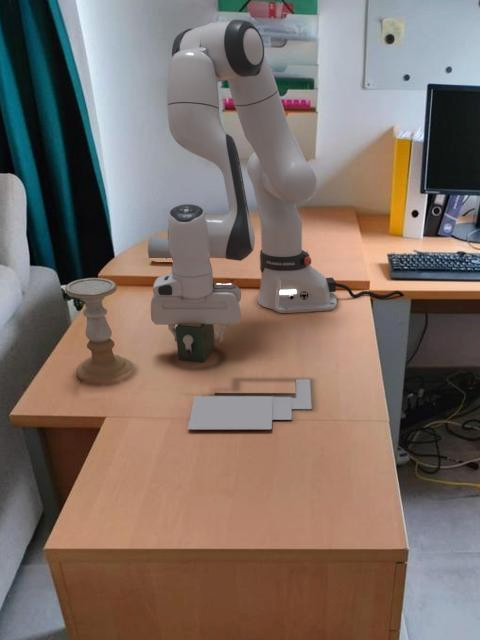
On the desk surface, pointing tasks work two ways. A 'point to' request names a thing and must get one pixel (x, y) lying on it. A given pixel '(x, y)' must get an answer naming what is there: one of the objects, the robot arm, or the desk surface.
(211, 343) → the sharpener
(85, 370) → the candle holder
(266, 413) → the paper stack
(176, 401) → the desk surface
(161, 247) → the grey cylinder
